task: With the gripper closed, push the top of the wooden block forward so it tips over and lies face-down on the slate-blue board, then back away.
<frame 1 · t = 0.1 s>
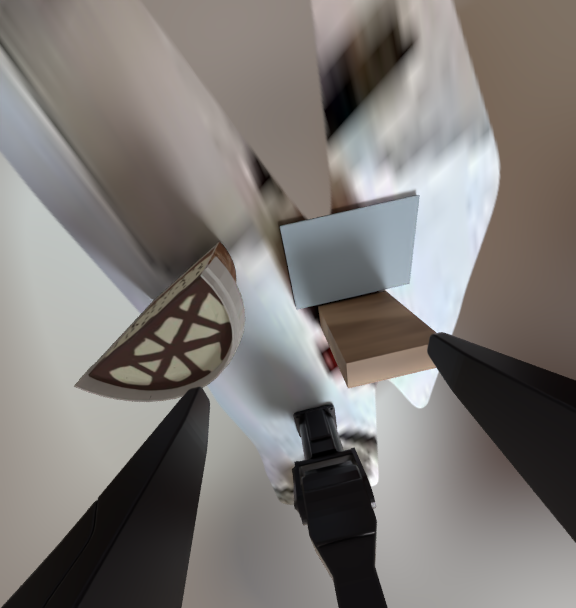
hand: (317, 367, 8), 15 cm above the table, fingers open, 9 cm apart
food container: (209, 292, 22), on the table
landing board: (350, 257, 22), on the table
wooden block: (352, 309, 25), on the table
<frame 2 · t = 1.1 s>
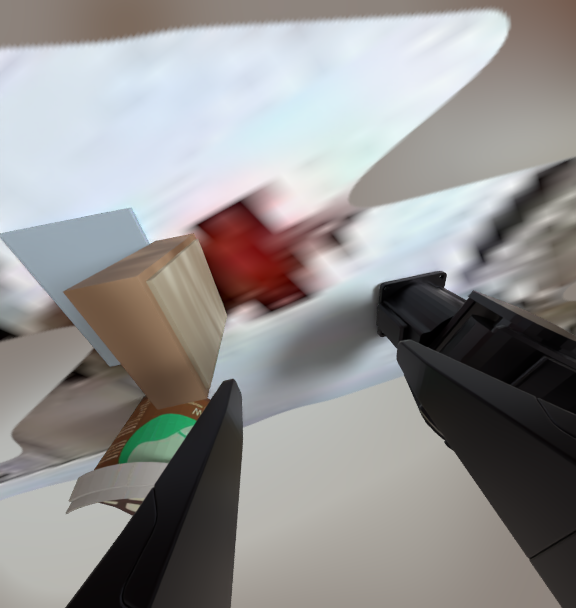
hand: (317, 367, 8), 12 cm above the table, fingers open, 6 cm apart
food container: (194, 402, 26), on the table
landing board: (120, 299, 18), on the table
wooden block: (194, 283, 18), on the table
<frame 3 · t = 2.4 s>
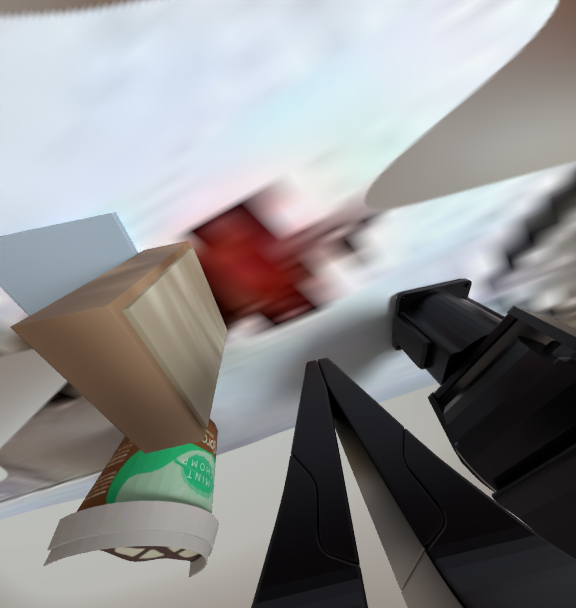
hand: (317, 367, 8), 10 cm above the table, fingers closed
food container: (193, 421, 24), on the table
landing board: (107, 314, 16), on the table
wooden block: (190, 296, 16), on the table
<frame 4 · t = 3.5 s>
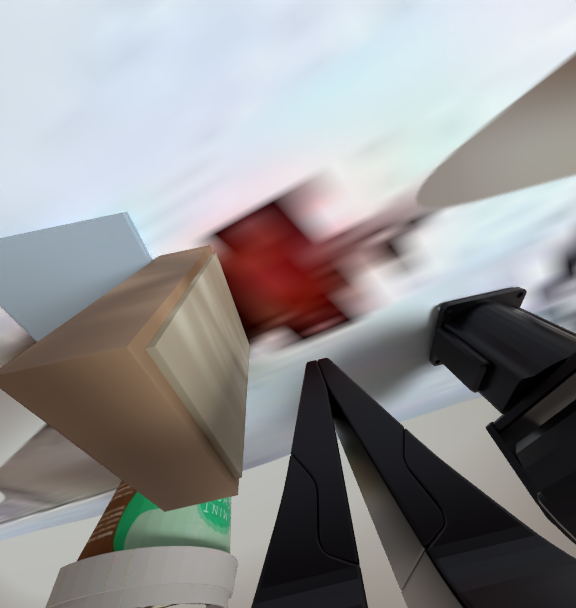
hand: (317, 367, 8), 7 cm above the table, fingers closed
food container: (206, 440, 22), on the table
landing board: (114, 329, 14), on the table
wooden block: (210, 307, 14), on the table
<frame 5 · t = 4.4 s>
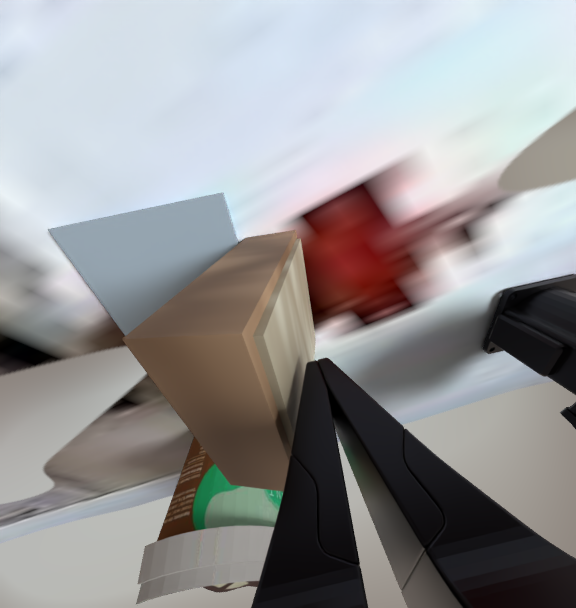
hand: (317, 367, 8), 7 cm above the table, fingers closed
food container: (254, 429, 22), on the table
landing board: (190, 312, 14), on the table
wooden block: (283, 294, 14), on the table, tilted 16°
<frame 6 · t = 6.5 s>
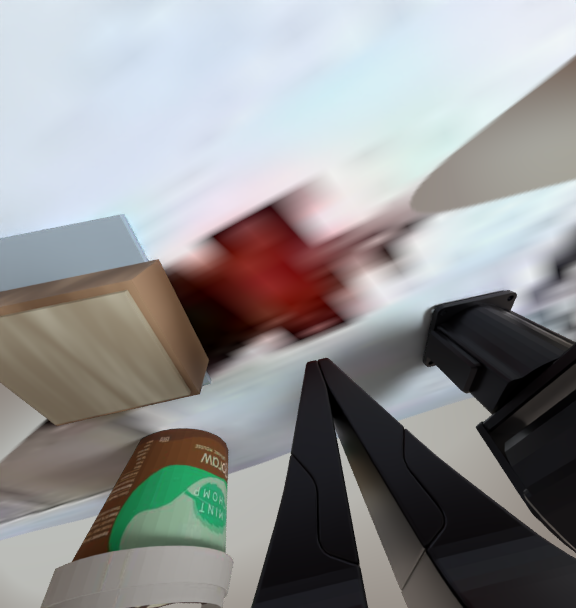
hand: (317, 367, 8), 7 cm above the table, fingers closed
food container: (202, 441, 22), on the table
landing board: (111, 330, 14), on the table
wooden block: (180, 330, 13), point 2 cm above the table, tilted 90°, touching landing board
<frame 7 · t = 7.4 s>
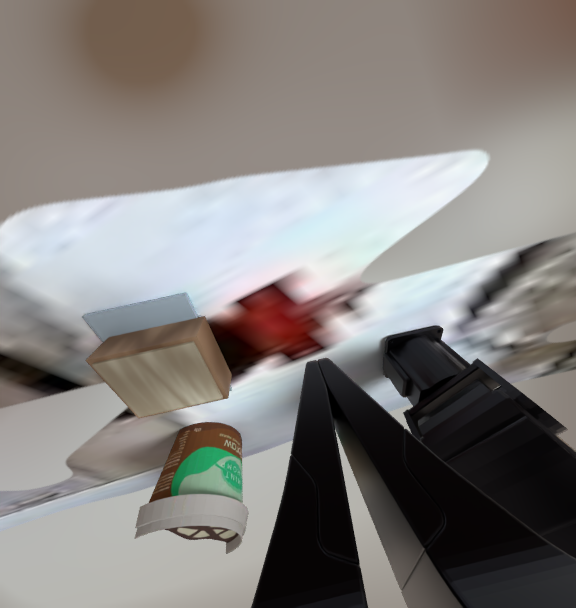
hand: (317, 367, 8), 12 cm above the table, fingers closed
food container: (222, 431, 29), on the table
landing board: (169, 356, 22), on the table
wooden block: (216, 358, 20), point 2 cm above the table, tilted 90°, touching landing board
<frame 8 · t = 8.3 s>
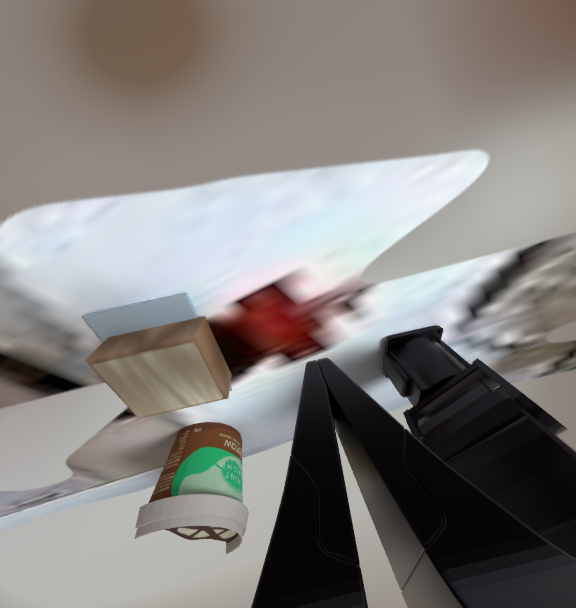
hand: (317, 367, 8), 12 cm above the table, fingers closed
food container: (222, 432, 30), on the table
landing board: (169, 356, 22), on the table
wooden block: (216, 358, 20), point 2 cm above the table, tilted 90°, touching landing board
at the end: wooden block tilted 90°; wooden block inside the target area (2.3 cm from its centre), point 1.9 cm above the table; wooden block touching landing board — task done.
